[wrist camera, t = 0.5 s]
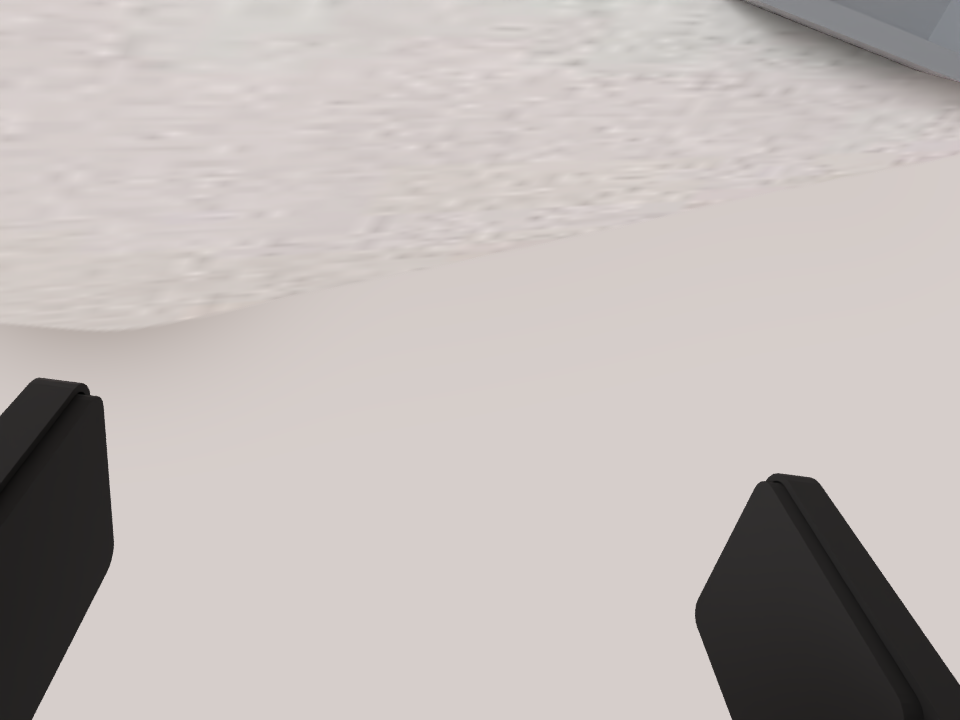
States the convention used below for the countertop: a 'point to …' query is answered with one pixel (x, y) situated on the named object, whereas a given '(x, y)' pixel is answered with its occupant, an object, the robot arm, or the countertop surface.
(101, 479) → the robot arm
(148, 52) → the countertop surface
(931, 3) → the bin
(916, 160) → the countertop surface
